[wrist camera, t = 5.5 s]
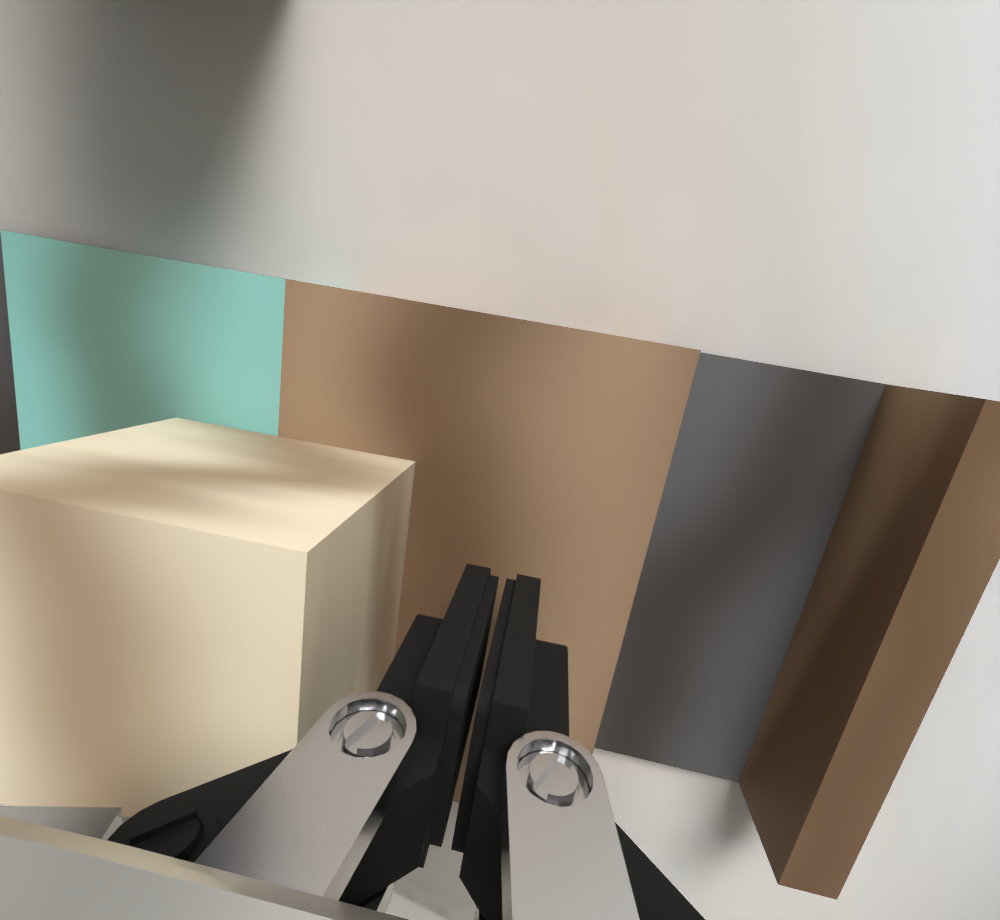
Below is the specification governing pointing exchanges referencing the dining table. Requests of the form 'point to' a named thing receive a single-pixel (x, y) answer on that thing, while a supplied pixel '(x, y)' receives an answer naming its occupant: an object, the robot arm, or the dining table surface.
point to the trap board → (586, 504)
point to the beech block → (186, 604)
